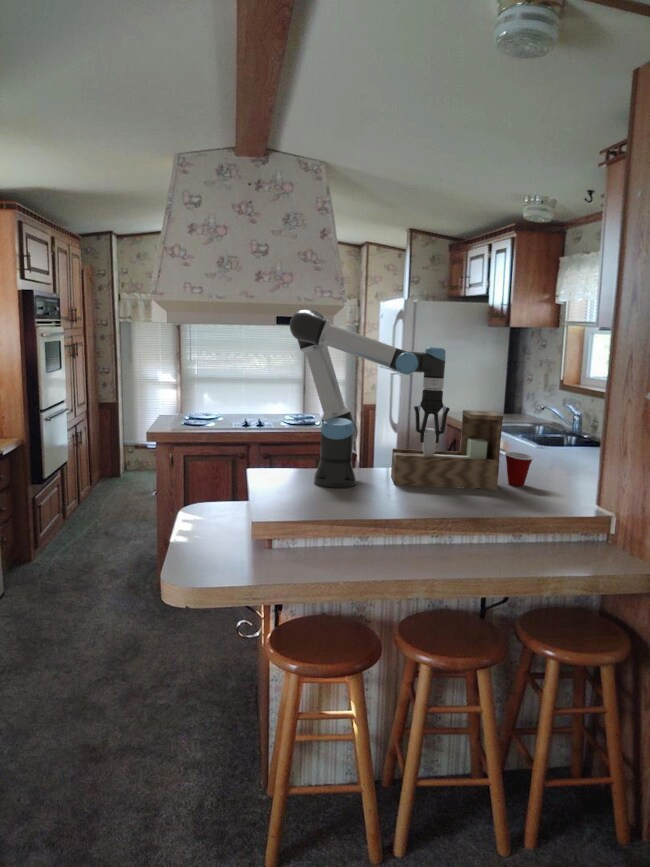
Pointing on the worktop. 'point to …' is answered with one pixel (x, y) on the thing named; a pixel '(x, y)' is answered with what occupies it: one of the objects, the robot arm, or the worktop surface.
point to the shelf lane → (450, 470)
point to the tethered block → (474, 450)
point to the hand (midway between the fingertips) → (428, 451)
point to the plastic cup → (517, 467)
